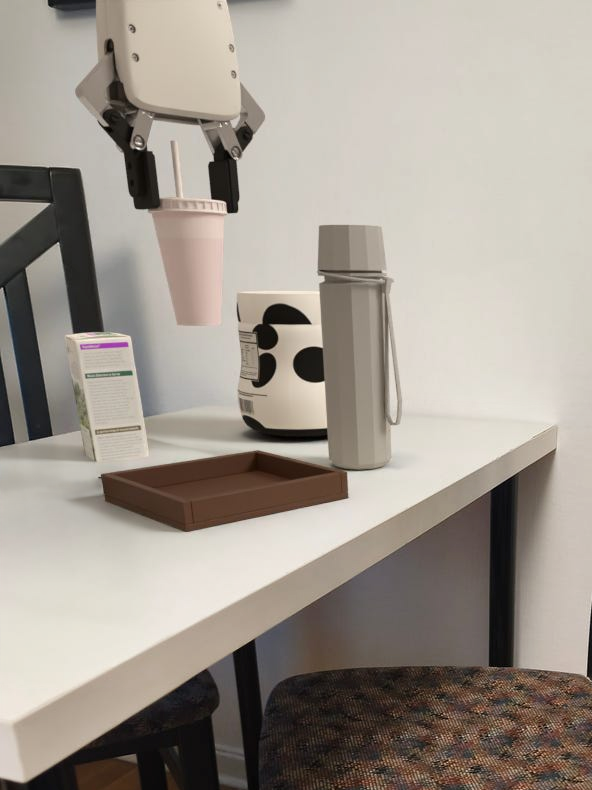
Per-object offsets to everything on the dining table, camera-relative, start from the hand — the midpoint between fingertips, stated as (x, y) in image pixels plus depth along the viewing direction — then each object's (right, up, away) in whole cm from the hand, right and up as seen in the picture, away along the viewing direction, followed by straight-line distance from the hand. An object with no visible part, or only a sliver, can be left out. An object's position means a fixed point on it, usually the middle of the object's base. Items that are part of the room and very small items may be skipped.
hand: (187, 209), depth 74 cm
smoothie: (0, -9, +3) cm, 9 cm away
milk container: (0, -7, +48) cm, 49 cm away
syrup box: (-15, -18, +24) cm, 34 cm away
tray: (0, -22, +13) cm, 26 cm away
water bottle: (+11, -16, +28) cm, 35 cm away
